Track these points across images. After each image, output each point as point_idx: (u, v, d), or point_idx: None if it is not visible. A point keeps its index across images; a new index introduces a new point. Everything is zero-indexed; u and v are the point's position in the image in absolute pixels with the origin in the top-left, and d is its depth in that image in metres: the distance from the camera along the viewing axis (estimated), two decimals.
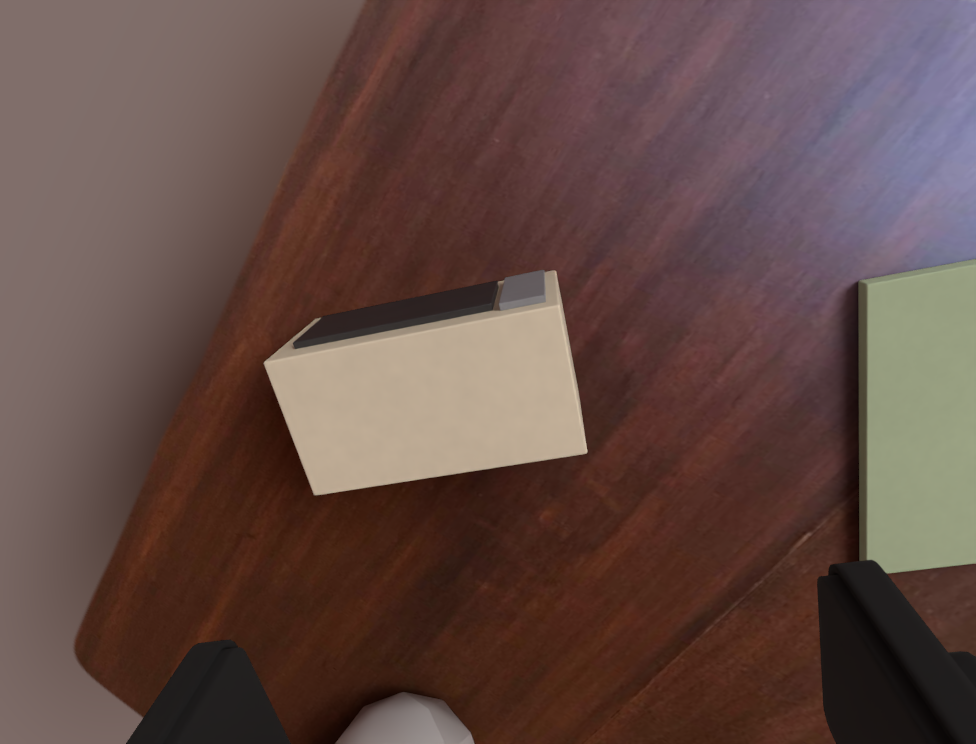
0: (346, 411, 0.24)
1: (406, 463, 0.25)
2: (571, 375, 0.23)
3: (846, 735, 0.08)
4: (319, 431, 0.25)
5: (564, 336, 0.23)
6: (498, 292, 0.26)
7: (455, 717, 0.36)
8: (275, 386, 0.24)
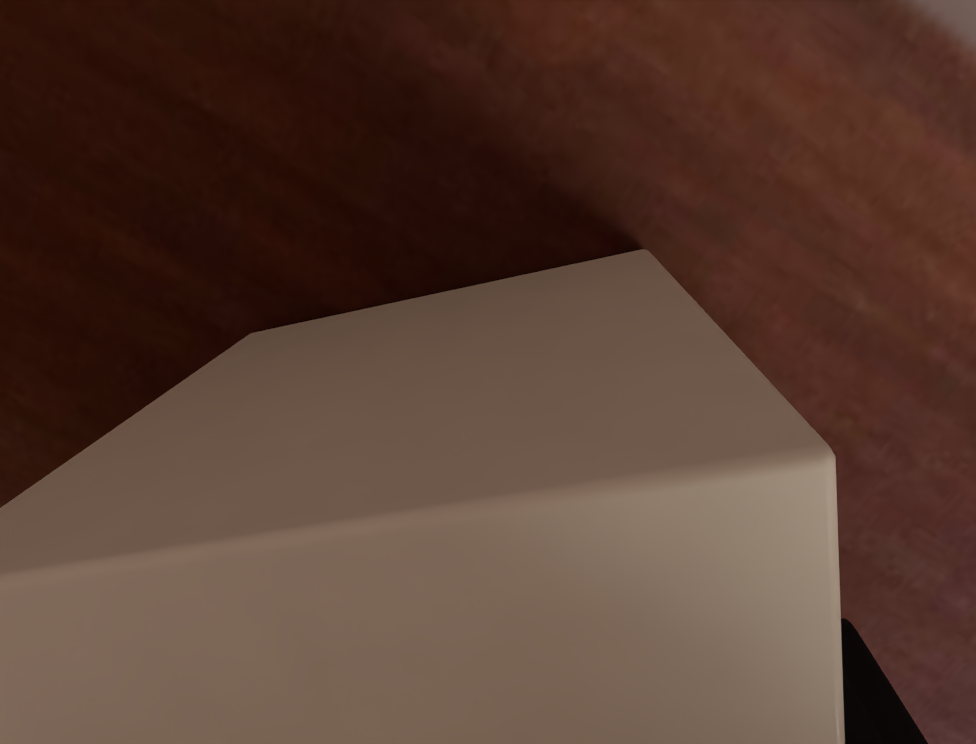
0: None
1: None
2: None
3: None
4: (320, 696, 0.04)
5: None
6: None
7: None
8: (635, 506, 0.03)
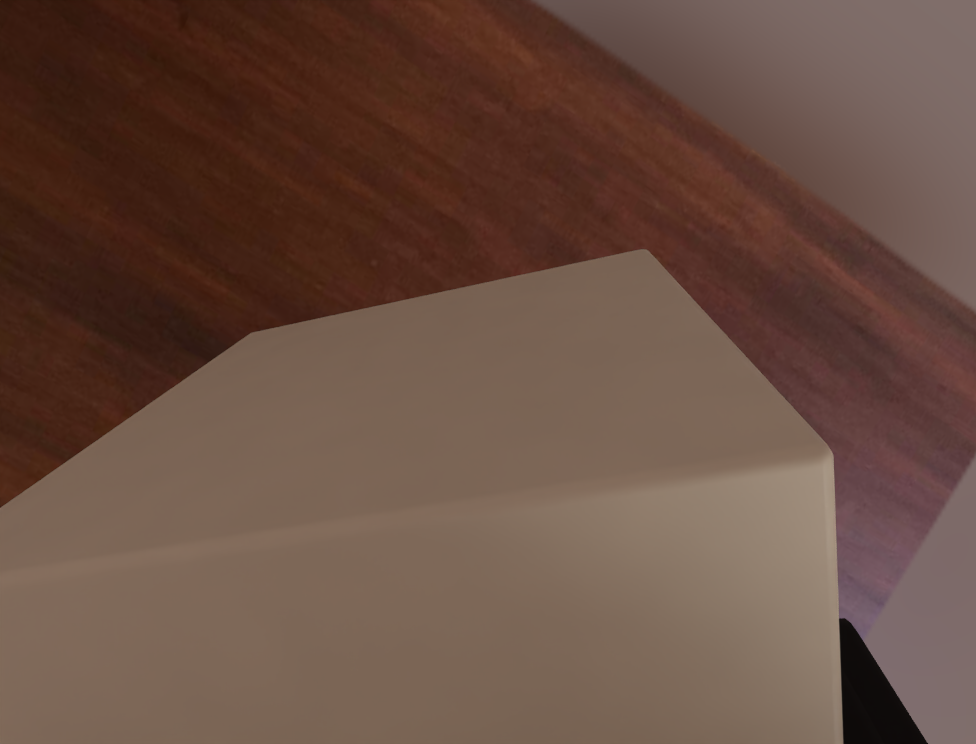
0: None
1: None
2: None
3: None
4: (321, 693, 0.04)
5: None
6: None
7: None
8: (634, 504, 0.03)
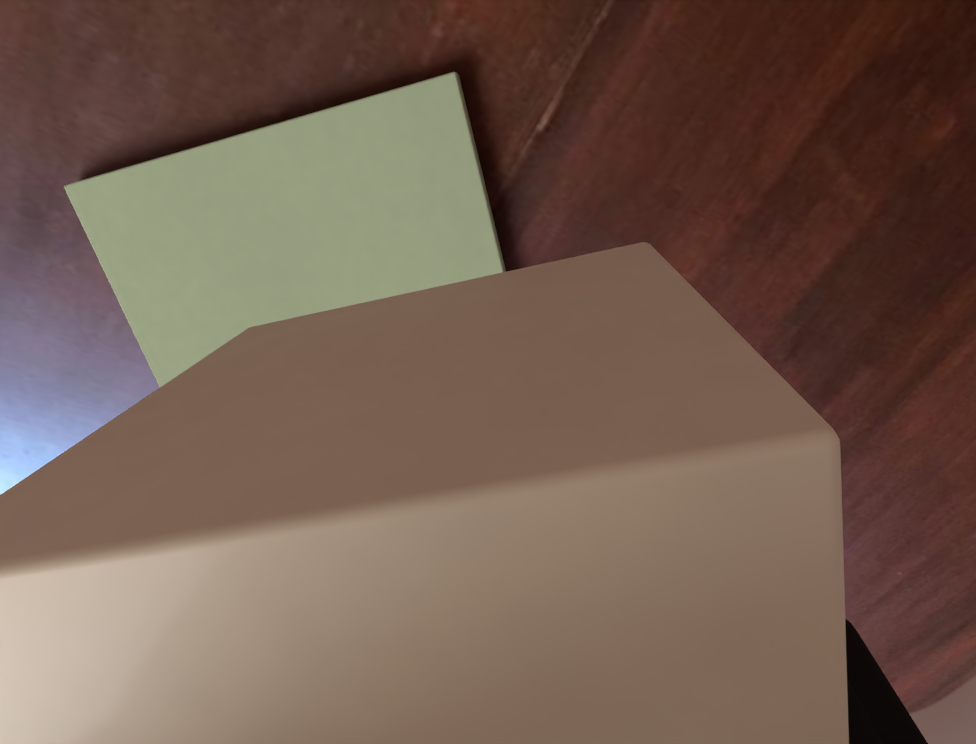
0: None
1: None
2: None
3: None
4: (318, 687, 0.04)
5: None
6: None
7: None
8: (637, 490, 0.03)
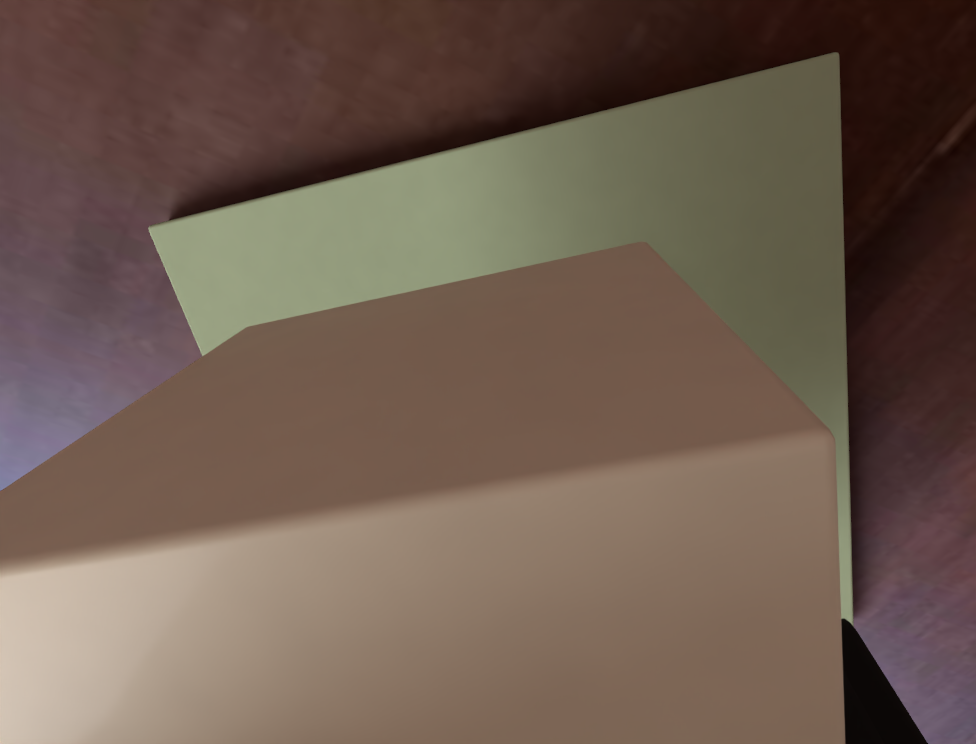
0: None
1: None
2: None
3: None
4: (312, 686, 0.04)
5: None
6: None
7: None
8: (632, 490, 0.03)
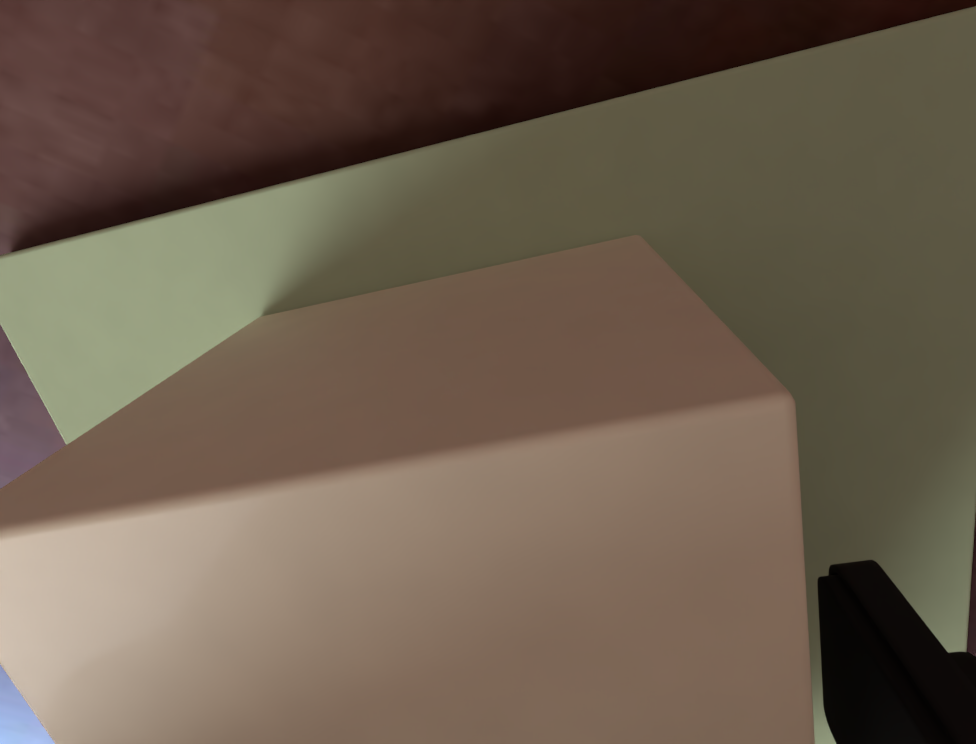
0: None
1: None
2: None
3: (846, 735, 0.08)
4: (332, 631, 0.04)
5: None
6: None
7: None
8: (617, 448, 0.04)
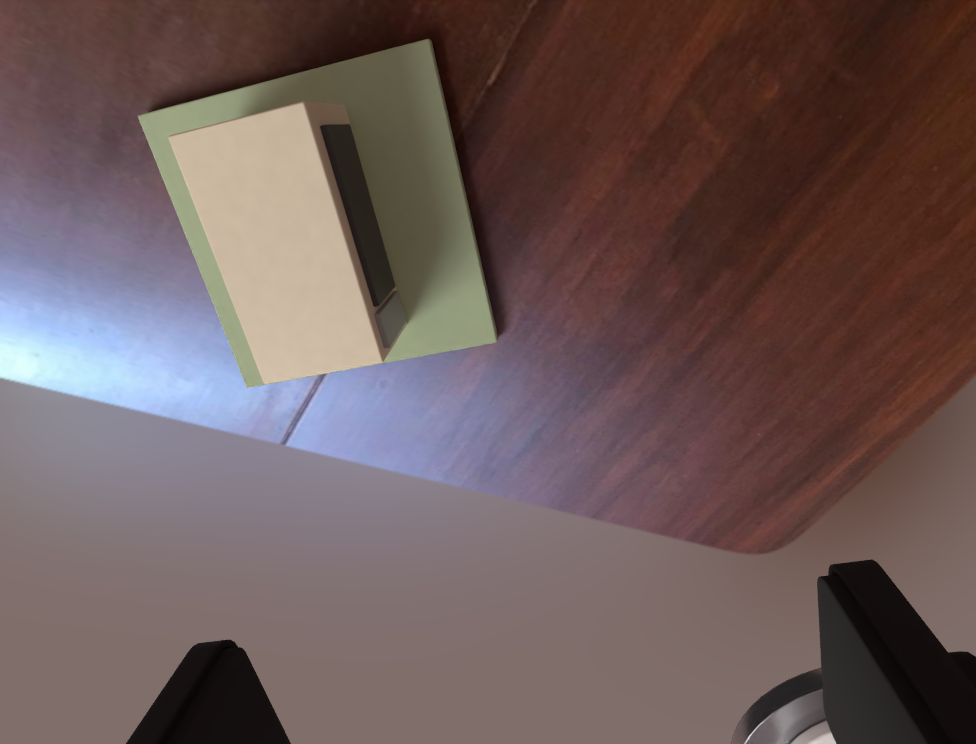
0: (266, 181, 0.26)
1: (224, 235, 0.27)
2: (328, 371, 0.30)
3: (846, 735, 0.08)
4: (240, 151, 0.26)
5: (359, 366, 0.30)
6: None
7: None
8: (280, 111, 0.25)
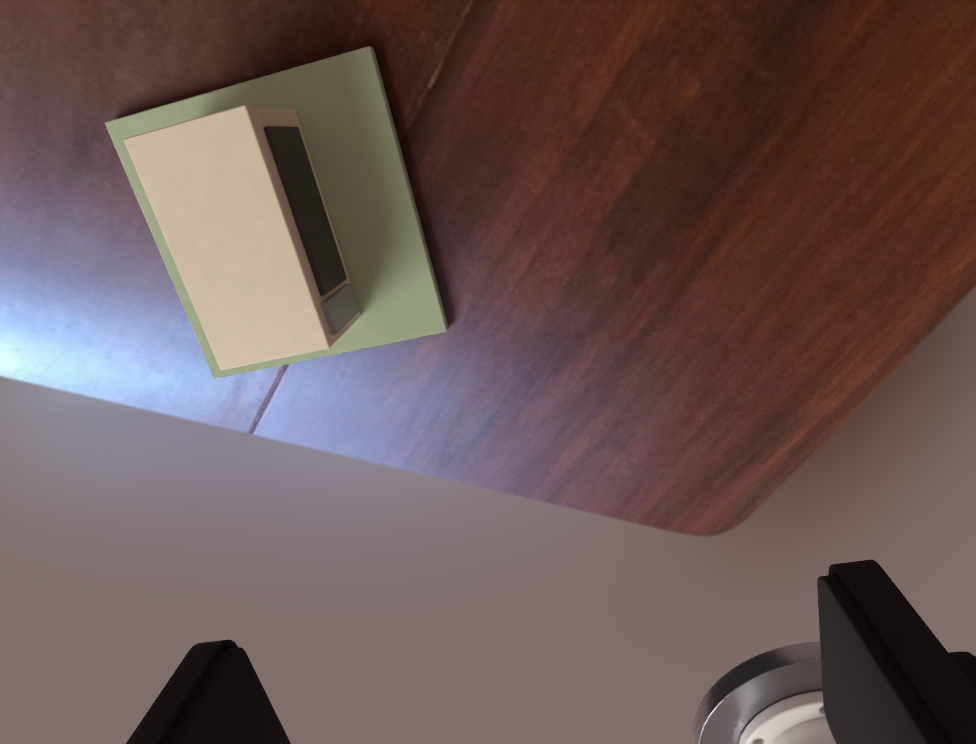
0: (214, 179, 0.28)
1: (178, 229, 0.30)
2: (279, 357, 0.32)
3: (846, 735, 0.08)
4: (189, 152, 0.28)
5: (307, 352, 0.31)
6: None
7: None
8: (224, 114, 0.27)
